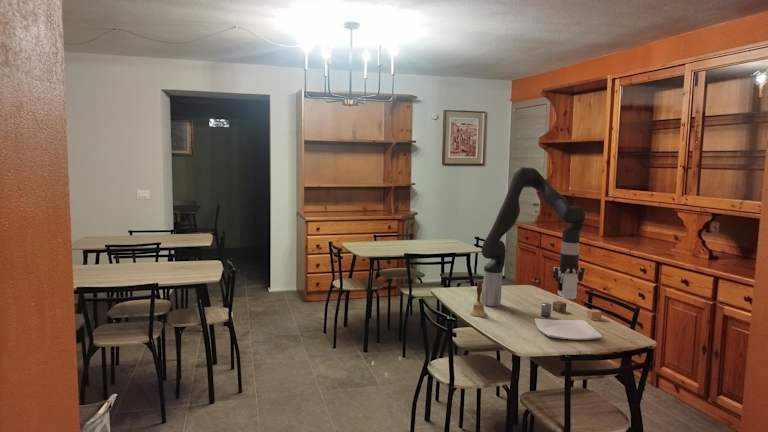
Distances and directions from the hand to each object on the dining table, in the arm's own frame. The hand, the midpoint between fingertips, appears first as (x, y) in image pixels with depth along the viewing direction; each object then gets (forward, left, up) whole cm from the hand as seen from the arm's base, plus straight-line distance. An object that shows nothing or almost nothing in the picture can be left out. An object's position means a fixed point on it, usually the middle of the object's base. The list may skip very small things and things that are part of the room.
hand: (567, 290), depth 223 cm
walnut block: (+13, +30, -18) cm, 37 cm away
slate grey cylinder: (+2, +22, -18) cm, 29 cm away
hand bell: (-30, +27, -18) cm, 44 cm away
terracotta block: (+24, +17, -18) cm, 35 cm away
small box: (0, 0, -3) cm, 3 cm away
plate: (+1, -1, -19) cm, 19 cm away
